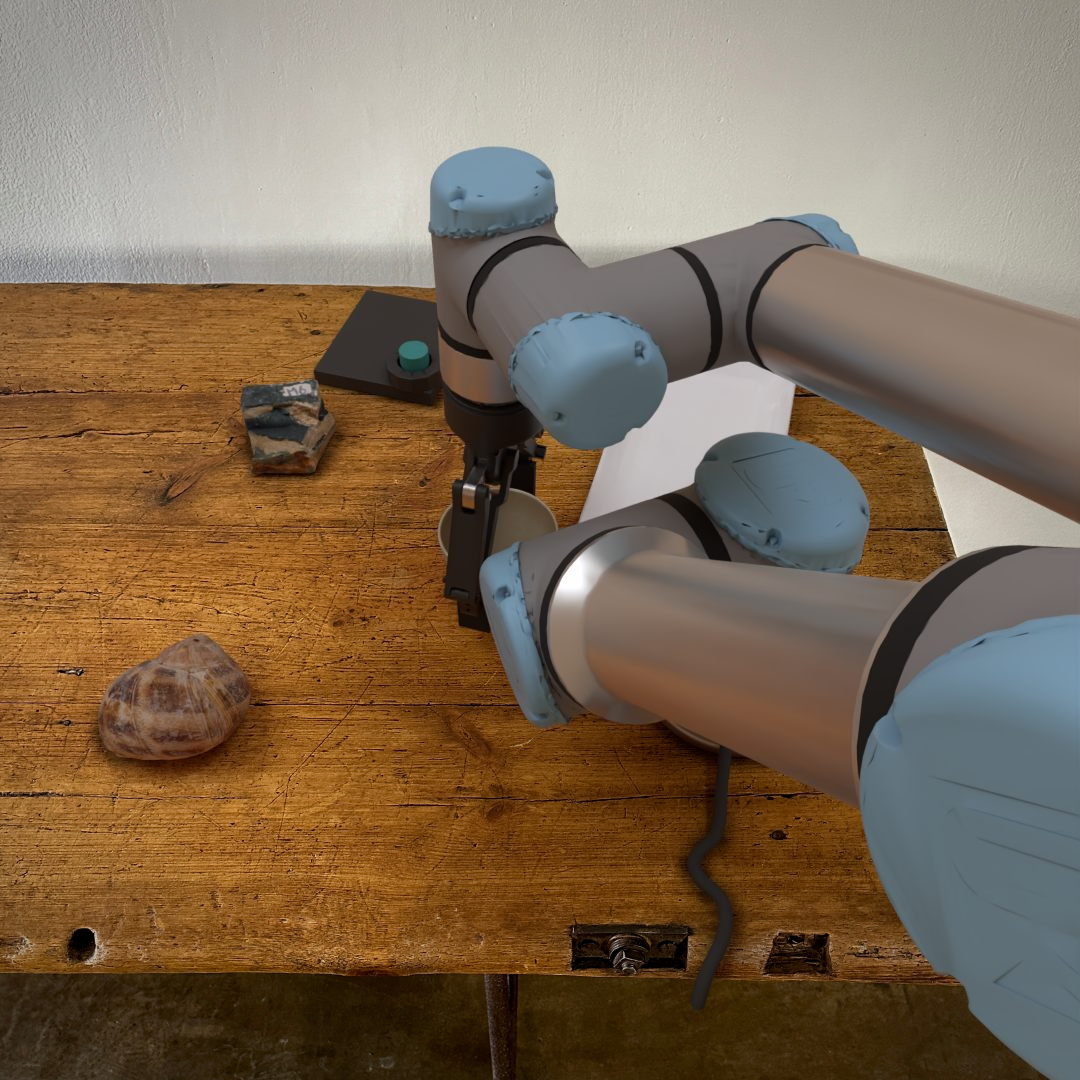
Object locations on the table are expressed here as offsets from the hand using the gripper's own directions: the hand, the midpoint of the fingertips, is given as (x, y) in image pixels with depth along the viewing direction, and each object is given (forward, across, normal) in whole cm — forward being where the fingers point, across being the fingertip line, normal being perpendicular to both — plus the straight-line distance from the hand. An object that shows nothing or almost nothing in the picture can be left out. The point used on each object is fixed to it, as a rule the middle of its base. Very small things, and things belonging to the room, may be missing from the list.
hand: (498, 566), depth 84 cm
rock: (+3, +11, +25) cm, 27 cm away
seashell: (+2, -20, +20) cm, 28 cm away
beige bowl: (+2, 0, 0) cm, 2 cm away
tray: (+2, +20, -14) cm, 25 cm away
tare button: (-1, +23, +16) cm, 28 cm away
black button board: (+2, +28, +20) cm, 34 cm away
